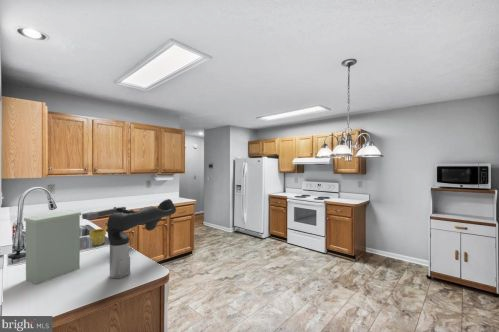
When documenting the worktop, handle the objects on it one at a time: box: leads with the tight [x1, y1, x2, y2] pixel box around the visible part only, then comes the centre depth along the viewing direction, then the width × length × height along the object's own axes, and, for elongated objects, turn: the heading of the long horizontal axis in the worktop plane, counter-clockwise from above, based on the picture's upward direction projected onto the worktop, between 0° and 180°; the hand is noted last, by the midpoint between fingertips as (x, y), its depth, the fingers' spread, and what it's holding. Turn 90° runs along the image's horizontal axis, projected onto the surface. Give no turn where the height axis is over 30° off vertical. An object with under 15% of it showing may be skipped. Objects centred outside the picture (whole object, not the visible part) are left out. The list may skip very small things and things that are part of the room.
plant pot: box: [89, 228, 107, 246], centre depth 175 cm, size 10×10×10 cm
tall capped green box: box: [23, 210, 82, 286], centre depth 128 cm, size 21×11×32 cm, turn 155°
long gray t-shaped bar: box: [81, 206, 127, 221], centre depth 154 cm, size 26×6×3 cm, turn 155°
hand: (115, 208), depth 160 cm, fingers closed on long gray t-shaped bar, 3 cm apart
